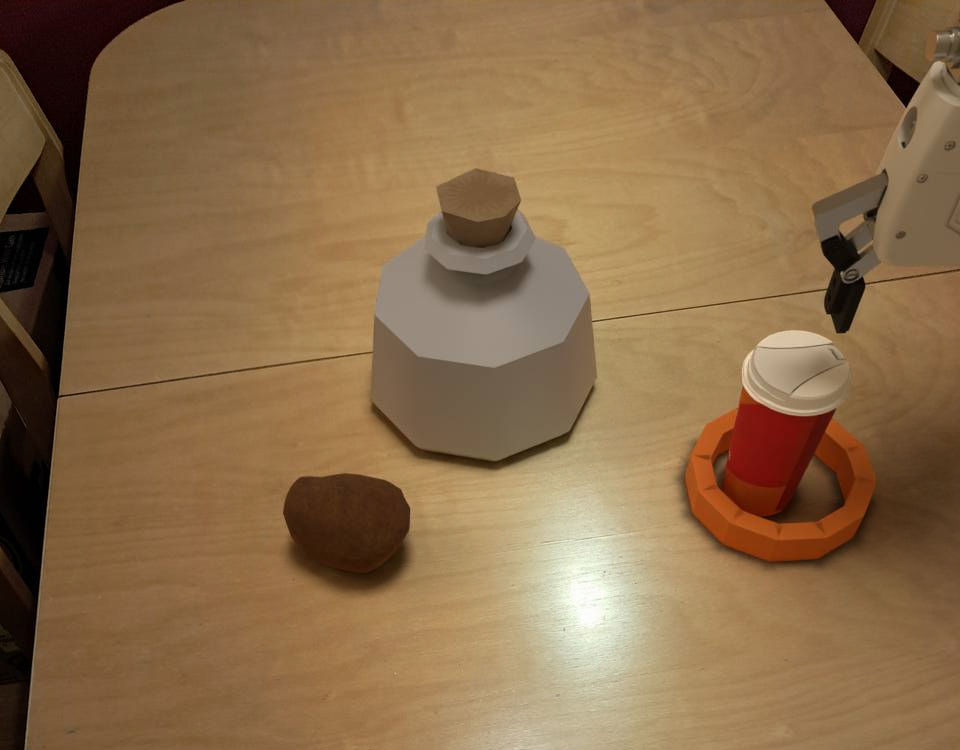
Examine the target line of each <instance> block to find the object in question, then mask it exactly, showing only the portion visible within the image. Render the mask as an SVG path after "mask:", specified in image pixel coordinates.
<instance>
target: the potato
mask: <svg viewBox="0 0 960 750" xmlns="http://www.w3.org/2000/svg"><path fill="white" fill-rule="evenodd" d="M282 516H283V518H284V522H285V524H286V526H287V530H288V533H289V535H290V538H291V539H292V540H293V541H294V542H295V544H296V545H298V546H299V547H300V548H301V549H302V550H303V551H304V552H305V553H306V554H307V555H309V556H310V557H311V558H313V559H315V560H317V561H318V562H319V563H321V564H323V565H326V566H328V567H331V568H333V569H337V570H343V571H348V572H351V573H356V574H363V573H369V572H371V571H373V570H375V569H378V568H379V567H380V566H381V565H383V564H384V563H385V562H387V561H388V560H389V559H390V558H391V557H392V556H393V555H394V554H395V553H396V552H397V550H399V548H400V546H401V545H402V543H403V541H404V540H405V538H406V537H407V535H408V533H409V531H410V527H411V507H410V504H409V503H408V501H407V499H406V497H405V495H404V493H403V491H402V488H400V487H398V486H397V485H395V484H393V483H392V482H391V481H388V480H386V479H383V478H378V477H373V476H370V475H369V476H368V475H363V474H357V473H347V472H344V473H343V472H342V473H335V474H329V475H325V476H314V475H307V476H306V475H305V476H299V477H298V478H297V479H296V480H294V482H293V483H292V484H291V485H290V487H289V489H288V491H287V493H286V497H285V500H284V503H283V509H282Z"/></svg>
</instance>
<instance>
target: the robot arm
mask: <svg viewBox="0 0 960 750" xmlns="http://www.w3.org/2000/svg"><path fill="white" fill-rule="evenodd" d="M925 58H926V60H928V61H935V62H934V63H933V64H932V65H931V67H930V68H929V69H928V71H927V72H926V74H925V76H924V77H923V79H922V80H921V82H920V84H919V85H918V87H917V89H916V91H915V92H914V94H913V96H912V98H911V99H910V101H909V103H908V105H907V107H906V108H905V110H904V112H903V114H902V116H901V118H900V120H899V122H898V123H897V126H896V127H895V130H894V131H893V134H892V136H891V138H890V140H889V142H888V145H887V147H886V149H885V151H884V154H883V156H882V158H881V160H880V163H879V165H878V168H877V170H876V173H875V175H874V176H872V177H870V178H868V179H865V180H863V181H861V182H858V183H856V184H854V185H852V186H849V187H847V188H844V189H843V190H840V191H838V192H835V193H833V194H831V195H829V196H827V197H824V198H822V199H819V200H817V201H816V202H814V203H813V204H812V205H811V207H810V215H811V218H812V222H813V225H814V229H815V232H816V235H817V239H818V243H819V245H820V250H821V252H822V255H823V257H824V258H825V259H826V260H827V261H828V262H829V263H830V265H831V266H832V268H833V271H832V274H831V277H830V280H829V283H828V286H827V289H826V292H825V295H824V299H823V308H824V311H825V314H826V315H830V317H831V320H832V323H833V327H834V331H835V333H836V335H837V334H846V333H847V332H849V331H850V329H851V327H852V324H853V321H854V319H855V316H856V314H857V311H858V309H859V306H860V303H861V300H862V297H863V295H864V293H865V291H866V286H867V285H866V281H865V278H864V277H865V275H867V274H868V273H870V272H871V271H872V270H874V269H875V268H876V267H877V266H878V265H880V264H881V263H882V264H884V265H886V266H890V267H896V268H897V267H898V268H933V267H937V268H938V267H960V11H959V12H958V15H957V18H956V19H955V23H954V24H953V25H952V26H948V27H946V28H945V29H938V30H937V29H936V30H935V29H933V30H932V31H931V32H930V33H929V35H928V37H927V41H926V44H925ZM860 215H862V217H863V222H861V223H860V224H859V225H857V226H856V227H855V228H854V229H852V230H851V231H850V232H848V233H847V234H846V235H844V233H842V232H841V230H840V226H841V225H842V224H843V223H845V222H846V221H848V220H850V219H853V218H855V217H858V216H860ZM870 243H871V244H870ZM868 244H870V245H869V246H868V247H866V246H867V245H868ZM864 247H866V248H865V249H864V250H862V249H863V248H864ZM860 250H862V251H861V252H859V251H860Z"/></svg>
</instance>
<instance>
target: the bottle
mask: <svg viewBox="0 0 960 750" xmlns="http://www.w3.org/2000/svg"><path fill="white" fill-rule="evenodd" d="M435 188H436V189H435V190H436V193H437V198H438V202H439V207H440V212H438V213H437V214H436V215H434V216H433V217H432V218H431V219H430V221H428V223H427V224H426V230H425V235H424V236H423V237H421V238H420V239H418V240H417V241H415V242H414V243H413V244H411V245H410V246H407V248H405V249H404V250H402V251H401V252H399V253H398V254H396V255H394V256H393V257H392V258H391V259H389V260H387V261H386V262H385V263H383V264H382V265H381V271H380V277H379V284H378V290H377V295H376V302H375V307H374V314H373V333H372V335H373V336H372V356H371V358H372V360H371V375H370V376H371V378H370V401H371V402H372V403H373V404H374V405H375V406H376V407H377V408H378V409H379V410H380V411H381V412H382V413H383V415H385V416H386V417H387V419H388V420H389V421H391V422H392V424H393V425H394V426H395V427H396V428H397V429H398V430H399V431H400V432H401V433H402V434H403V435H404V436H405V437H406V438H407V439H408V440H409V441H410V442H411V443H412V445H414V447H416V448H417V449H420V450H422V451H426V452H433V453H439V454H445V455H450V456H456V457H457V456H458V457H464V458H469V459H475V460H481V461H486V462H487V461H489V462H494V463H496V462H499V461H501V460H504V459H506V458H509V457H511V456H514V455H516V454H519V453H521V452H524V451H526V450H529V449H531V448H534V447H537V446H539V445H541V444H543V443H546V442H549V441H551V440H554V439H556V438H558V437H562V436H563V435H565V434H567V433H569V432H570V431H571V430H572V427H573V425H574V423H575V422H576V420H577V417H578V415H579V413H580V412H581V410H582V408H583V406H584V403H585V402H586V400H587V397H588V395H589V394H590V392H591V390H592V388H593V386H594V384H595V382H596V380H597V378H598V371H597V359H596V350H595V349H596V348H595V347H596V346H595V338H594V327H593V316H592V315H593V313H592V303H591V302H592V301H591V294H590V291H589V290H588V288H587V286H586V284H585V282H584V281H583V279H582V277H581V274H580V273H579V271H578V270H577V268H576V266H575V264H574V263H573V261H572V259H571V257H570V255H569V253H568V251H567V249H566V248H565V247H564V246H561V245H559V244H556V243H553V242H551V241H548V240H546V239H543V238H541V237H539V236H536V235H535V233H534V231H533V230H532V228H531V225H530V224H529V221H528V219H527V217H526V216H525V215H524V213H523V212H521V211H520V209H519V207H520V205H521V201H522V198H521V194H520V192H519V188H518V185H517V182H516V179H515V177H513V176H509V175H505V174H502V173H497V172H493V171H489V170H485V169H481V168H478V167H477V168H476V167H474V168H472V169H470V170H468V171H466V172H464V173H462V174H460V175H458V176H456V177H454V178H451V179H449V180H447V181H445V182H443V183H441V184H439V185H436V186H435Z"/></svg>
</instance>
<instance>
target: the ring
mask: <svg viewBox="0 0 960 750" xmlns="http://www.w3.org/2000/svg"><path fill="white" fill-rule="evenodd" d="M737 410H738V407H735V408H734V409H732V410H730V411H728V412H726V413H725V414H722V415H721V416H719V417H717V418H715V419H714V420H711V421H709V422H708V423H706V424H705V426H704V428H703V430H702V432H701V434H700V435H699V438H698V440H697V442H696V444H695V446H694V448H693V449H692V451H691V453H690V455H689V460H688V463H687V468H686V472H685V476H684V480H685V485H686V490H687V495H688V499H689V503H690V509H691V513H692V515H694V517H695V518H696V519H698V521H699V522H700V523H701V524H702V525H703V526H704V527H705V528H706V529H707V530H708V531H709V532H710V533H711V534H712V535H713V536H714V537H715V538H716V539H717V540H718V541H719V542H720V543H721V544H722V545H723V546H726V547H729V548H731V549H734V550H737V551H740V552H741V553H745V554H747V555H750V556H753V557H756V558H758V559H761V560H763V561H766V562H788V561H789V562H791V561H807V560H818V559H820V558H822V557H823V556H825V555H827V554H829V553H830V552H832V551H834V550H835V549H837V548H838V547H840V546H842V545H844V544H845V543H847V542H848V541H851V539H853V538H854V537H855V534H856V533H857V530H858V528H859V527H860V525H861V523H862V521H863V519H864V517H865V515H866V512H867V509H868V506H869V504H870V503H871V499H872V496H873V494H874V491H875V488H876V486H877V483H878V481H877V478H876V475H875V472H874V470H873V467H872V464H871V461H870V458H869V455H868V453H867V449H866V446H865V445H864V444H863V443H862V442H861V441H859V440H858V439H857V438H856V437H854V436H853V435H852V434H851V433H850V432H849V431H848V430H847V429H846V428H844V427H843V426H842V425H841V424H840V423H838V421H836V420H835V419H834V418H833V417H832V419H831V421H830V423H829V425H828V427H827V429H826V431H825V433H824V435H823V437H822V439H821V441H820V443H819V445H818V447H817V449H816V451H815V453H814V455H815V456H816V457H817V458H818V459H819V460H821V461H822V462H823V463H824V464H825V465H826V466H827V467H828V468H830V470H832V471H833V472H834V473H835V474H836V478H837V480H838V483H839V486H840V489H841V492H842V496H843V499H844V503H843V505H842V506H841V507H840V508H838V509H836V510H835V511H833V512H831V513H829V514H828V515H826V516H824V517H823V518H822V519H820V520H818V521H809V522H789V523H777V522H775V521H772V520H769V519H766V518H764V517H762V516H756V515H753V514H750V513H747V512H745V511H742V510H741V509H740V508H739V507H738V506H737V505H736V504H735V503H734V502H733V501H732V500H731V499H730V498H729V497H728V496H727V495H725V494H724V493H723V490H721V488H719V486H718V483H717V478H716V475H715V471H714V466H713V465H714V463H715V461H716V459H717V458H718V456H720V455H722V454H724V453H726V452H729V448H730V444H731V439H732V434H733V429H734V424H735V420H736V415H737Z"/></svg>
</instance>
